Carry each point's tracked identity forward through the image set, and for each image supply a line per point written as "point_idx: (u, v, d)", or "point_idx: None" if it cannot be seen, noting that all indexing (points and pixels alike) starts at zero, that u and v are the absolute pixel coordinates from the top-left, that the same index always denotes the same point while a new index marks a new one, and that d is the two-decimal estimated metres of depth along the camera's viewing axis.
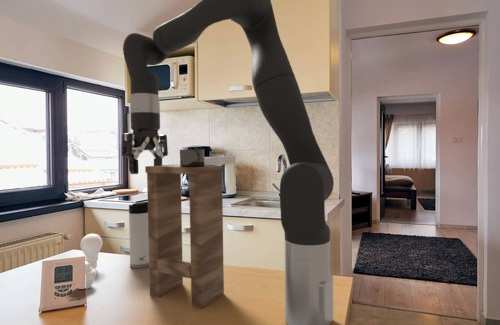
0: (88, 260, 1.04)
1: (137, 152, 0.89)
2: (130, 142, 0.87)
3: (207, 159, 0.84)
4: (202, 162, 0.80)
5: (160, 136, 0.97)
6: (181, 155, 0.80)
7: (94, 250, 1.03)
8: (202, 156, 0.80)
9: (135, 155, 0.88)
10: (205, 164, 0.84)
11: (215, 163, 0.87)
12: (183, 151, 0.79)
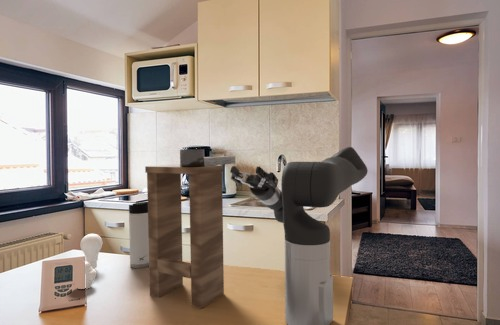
0: (88, 260, 1.04)
1: None
2: None
3: (207, 159, 0.84)
4: (202, 162, 0.80)
5: None
6: (181, 155, 0.80)
7: (94, 250, 1.03)
8: (202, 156, 0.80)
9: None
10: (205, 164, 0.84)
11: (215, 163, 0.87)
12: (183, 151, 0.79)
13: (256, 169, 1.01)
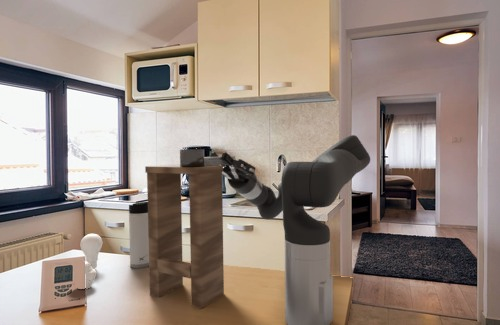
0: (88, 260, 1.04)
1: None
2: None
3: (207, 159, 0.84)
4: (202, 162, 0.80)
5: None
6: (181, 155, 0.80)
7: (94, 250, 1.03)
8: (202, 156, 0.80)
9: None
10: (205, 164, 0.84)
11: (215, 163, 0.87)
12: (183, 151, 0.79)
13: (222, 155, 0.90)
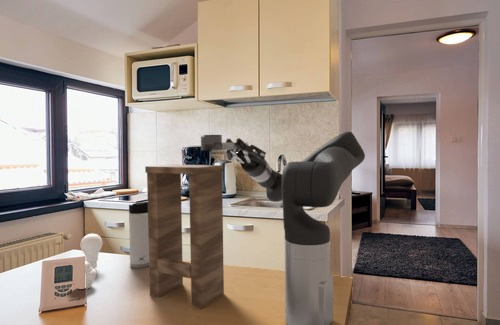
0: (88, 260, 1.04)
1: None
2: None
3: (224, 144, 0.96)
4: (220, 146, 0.92)
5: None
6: (202, 140, 0.92)
7: (94, 250, 1.03)
8: (220, 140, 0.92)
9: None
10: (222, 148, 0.96)
11: (231, 148, 0.99)
12: (204, 136, 0.91)
13: (236, 141, 1.02)
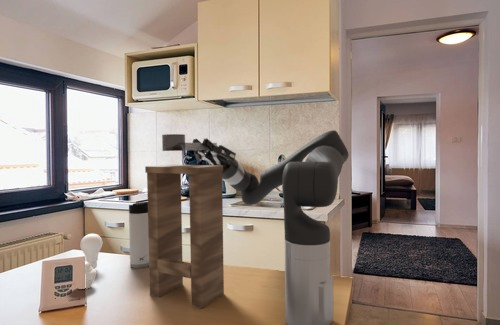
0: (88, 260, 1.04)
1: None
2: None
3: (188, 144, 0.90)
4: (183, 146, 0.87)
5: None
6: (163, 140, 0.86)
7: (94, 250, 1.03)
8: (183, 141, 0.87)
9: None
10: (186, 148, 0.90)
11: (196, 148, 0.94)
12: (165, 136, 0.85)
13: (203, 141, 0.96)
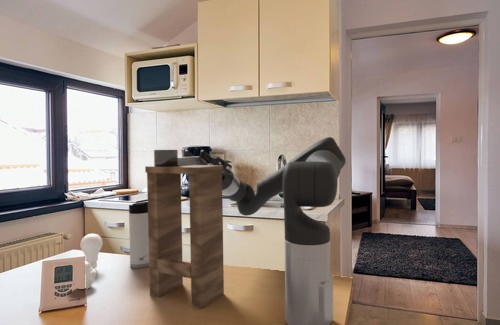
0: (88, 260, 1.04)
1: None
2: None
3: (181, 159, 0.88)
4: (175, 162, 0.84)
5: None
6: (155, 155, 0.84)
7: (94, 250, 1.03)
8: (175, 156, 0.84)
9: None
10: (179, 164, 0.87)
11: (189, 163, 0.91)
12: (156, 151, 0.83)
13: (200, 153, 0.93)
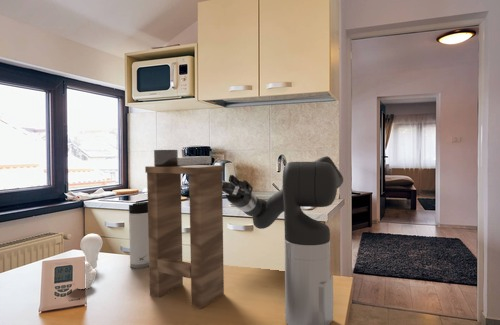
0: (88, 260, 1.04)
1: None
2: None
3: (181, 159, 0.88)
4: (175, 162, 0.84)
5: None
6: (155, 155, 0.84)
7: (94, 250, 1.03)
8: (175, 156, 0.84)
9: None
10: (179, 164, 0.87)
11: (189, 163, 0.91)
12: (156, 151, 0.83)
13: (229, 177, 1.03)
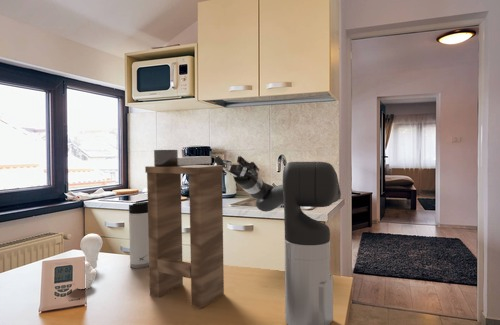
0: (88, 260, 1.04)
1: None
2: None
3: (181, 159, 0.88)
4: (175, 162, 0.84)
5: None
6: (155, 155, 0.84)
7: (94, 250, 1.03)
8: (175, 156, 0.84)
9: None
10: (179, 164, 0.87)
11: (189, 163, 0.91)
12: (156, 151, 0.83)
13: None
